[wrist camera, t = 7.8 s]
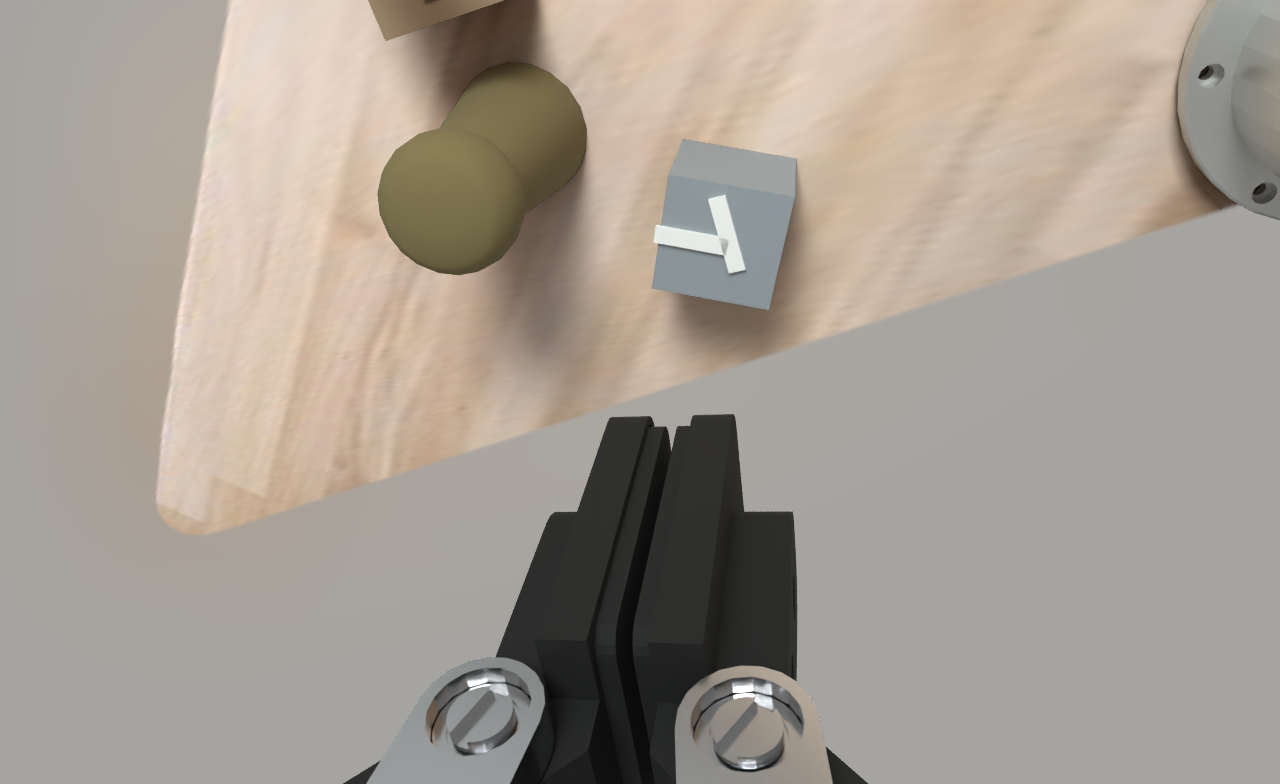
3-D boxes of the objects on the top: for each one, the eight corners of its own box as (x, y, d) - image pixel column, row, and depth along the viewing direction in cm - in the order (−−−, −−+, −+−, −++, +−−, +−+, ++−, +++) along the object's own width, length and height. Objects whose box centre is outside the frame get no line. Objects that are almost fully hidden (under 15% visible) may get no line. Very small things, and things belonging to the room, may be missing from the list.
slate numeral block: (796, 158, 38) (794, 198, 34) (772, 262, 41) (768, 312, 37) (679, 137, 39) (663, 175, 34) (663, 242, 42) (646, 289, 37)
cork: (550, 220, 42) (477, 328, 33) (436, 152, 41) (328, 243, 32) (611, 111, 39) (549, 196, 29) (489, 34, 38) (386, 97, 28)
